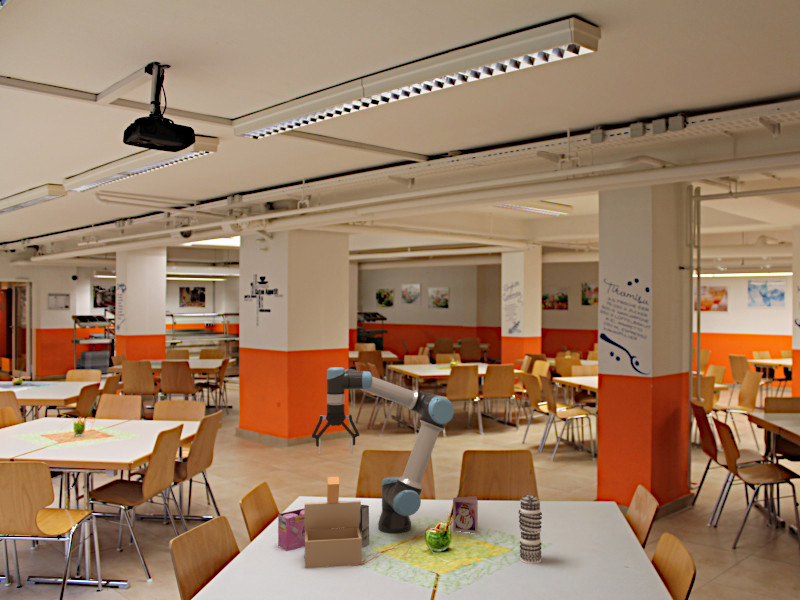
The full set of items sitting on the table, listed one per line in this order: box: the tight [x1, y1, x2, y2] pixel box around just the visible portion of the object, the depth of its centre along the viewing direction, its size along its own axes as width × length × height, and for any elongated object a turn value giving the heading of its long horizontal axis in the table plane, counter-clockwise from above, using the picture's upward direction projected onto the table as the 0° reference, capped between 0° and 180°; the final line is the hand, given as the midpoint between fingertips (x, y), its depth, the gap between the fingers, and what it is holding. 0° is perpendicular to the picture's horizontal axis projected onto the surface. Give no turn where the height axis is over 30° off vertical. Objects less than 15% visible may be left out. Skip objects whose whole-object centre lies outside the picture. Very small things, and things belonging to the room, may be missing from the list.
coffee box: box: [350, 504, 370, 548], centre depth 272 cm, size 9×6×16 cm
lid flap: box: [304, 475, 362, 530], centre depth 257 cm, size 22×25×4 cm
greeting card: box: [452, 495, 479, 534], centre depth 289 cm, size 11×7×15 cm, turn 68°
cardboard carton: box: [304, 527, 363, 569], centre depth 255 cm, size 22×14×10 cm, turn 99°
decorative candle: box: [518, 494, 543, 565], centre depth 254 cm, size 9×9×25 cm
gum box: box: [277, 507, 333, 551], centre depth 275 cm, size 24×8×14 cm, turn 130°
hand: (335, 453), depth 272 cm, fingers open, 13 cm apart
